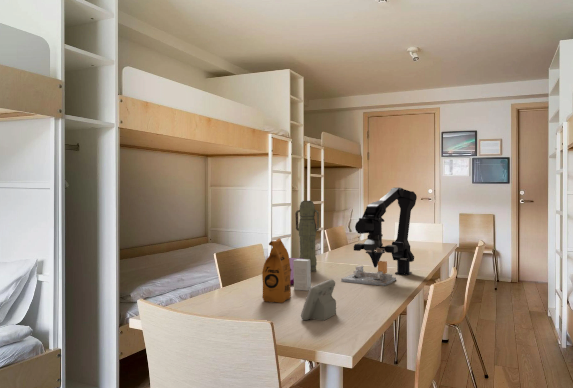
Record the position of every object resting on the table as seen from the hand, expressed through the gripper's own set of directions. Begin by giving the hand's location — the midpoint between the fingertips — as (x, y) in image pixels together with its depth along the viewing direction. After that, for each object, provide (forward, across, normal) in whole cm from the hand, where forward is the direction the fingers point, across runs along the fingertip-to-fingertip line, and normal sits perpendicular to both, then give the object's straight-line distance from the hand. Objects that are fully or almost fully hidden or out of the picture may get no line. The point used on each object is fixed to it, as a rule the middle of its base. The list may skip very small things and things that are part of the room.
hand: (375, 267), depth 200 cm
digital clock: (+6, +5, -64) cm, 64 cm away
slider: (+4, +3, -2) cm, 6 cm away
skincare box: (+6, -19, -33) cm, 38 cm away
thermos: (+6, -39, +7) cm, 40 cm away
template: (+6, -2, -4) cm, 7 cm away
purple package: (+6, -32, -22) cm, 39 cm away
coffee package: (+6, -19, -52) cm, 56 cm away
